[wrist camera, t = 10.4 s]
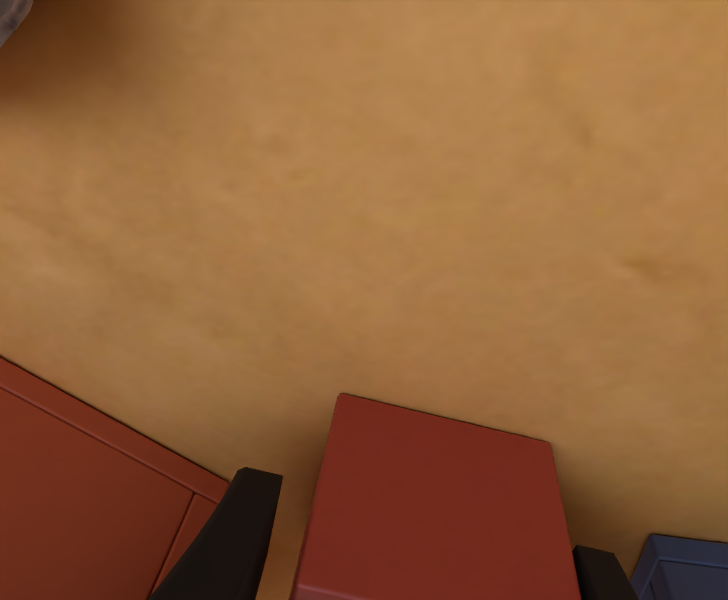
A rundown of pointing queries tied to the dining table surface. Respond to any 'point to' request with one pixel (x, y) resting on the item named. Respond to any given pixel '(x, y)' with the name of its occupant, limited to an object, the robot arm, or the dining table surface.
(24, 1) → the seashell
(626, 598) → the robot arm
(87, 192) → the dining table surface
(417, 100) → the dining table surface
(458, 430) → the red block
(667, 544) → the blue bin
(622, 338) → the dining table surface
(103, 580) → the red bin
